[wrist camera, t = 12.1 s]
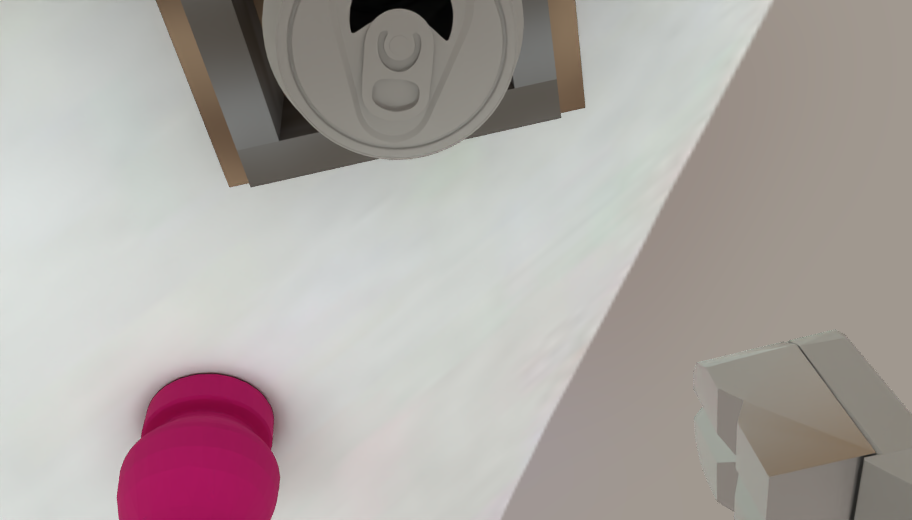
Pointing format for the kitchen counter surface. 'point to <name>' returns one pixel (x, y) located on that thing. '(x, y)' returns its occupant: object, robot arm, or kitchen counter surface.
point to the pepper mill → (202, 455)
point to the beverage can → (394, 68)
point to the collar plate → (285, 129)
